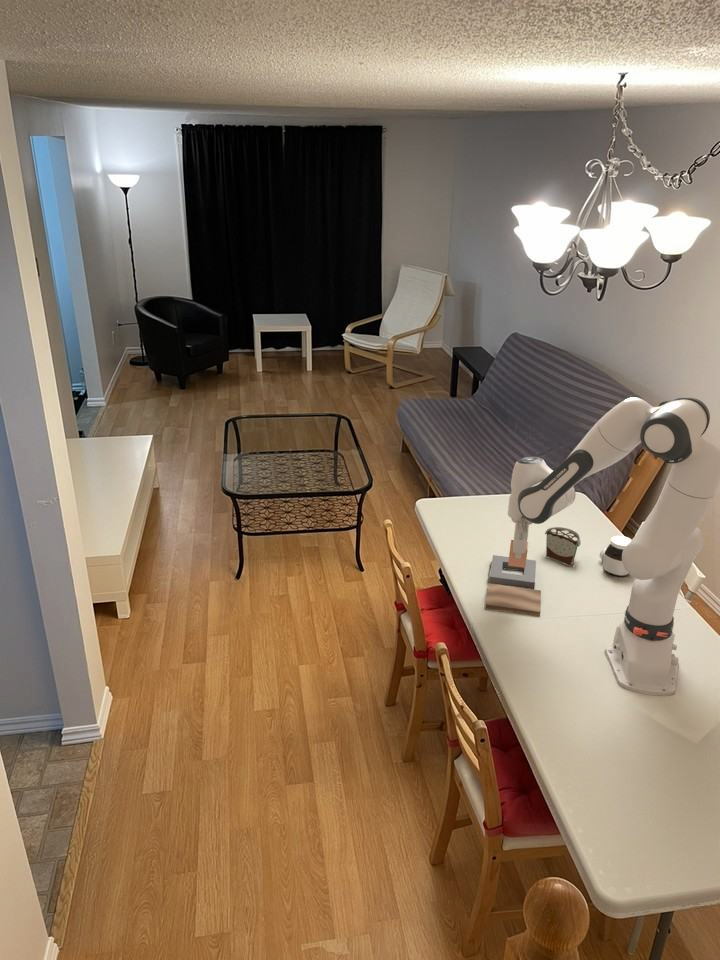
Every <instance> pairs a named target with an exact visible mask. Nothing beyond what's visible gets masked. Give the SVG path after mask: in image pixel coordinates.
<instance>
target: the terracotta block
mask: <svg viewBox="0 0 720 960" xmlns="http://www.w3.org/2000/svg"><path fill="white" fill-rule="evenodd" d="M513 542H514V539H510V544H509V545H510V546H509V554H508V557H509V562H508V566H515V567H522V568H525V567H526V559H527V558H528V551H529V549H528V548H529V541H527V547H526V552H525V554H522V556H521V558H520V559H518V558H515V553H514V552H513Z"/></svg>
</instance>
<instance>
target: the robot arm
mask: <svg viewBox="0 0 720 960" xmlns="http://www.w3.org/2000/svg"><path fill="white" fill-rule="evenodd" d="M710 421H711V413H710V411H709V408H708V406H707V405H706V404H705V403H704V402H703V401H702V400H700V399H698V398H696V397H695V398H694V397H689V396H688V397H680V398H675V399H669V400H665V401H662V402H660V403H659V404H658V406H652V405H651V404H649V403H648V401H646V400H645V399H643V398H640V397H637V396H636V397H634V396H633V397H628V398H626V399H624V400H623V401H621V402H619V403H618V404H616V405H615V406H614V407H612V408H611V409H610V410H608V411H607V412H606V413H605V414H604V415H603V416H602V417H601V418H600V419H599V420H598V421H597V422H596V423H594V424H593V426H592V427H591V428H590V429H589V431H587V433H586V434H585V436H584V437H583V438H582V439H581V440H580V442H579V443H578V444H577V445H576V446H575V447H574V449H573V450H572V451H571V453H570V454H569V455H568V456H567V457H566V458H565V459H564V460H563V461H562V462H561V463H560V464H559V465H558V466H557V467H556V468H554V470H553V469H552V468H550V467H549V466H548V465H547V463H546V462H545V460H544V459H543V458H541V457H538V456H531V455H530V456H525V457H522V458H520V459H517V461H516V462H515V463H514V466H513V470H512V474H511V482H510V489H511V492H510V495H509V499H508V506H507V507H508V508H507V516H508V517H509V518H510V519H511V521H512V522H513V523H514V525H515V526H514V533H513V540H514V542H513V552H514V553H515V558H518V559H520V558H521V556H522V554H525V552H526V547H527V542H528V537H529V526H530V525H532V524H535V525H539V524H544V523H545V522H547V521H548V520H549V519H550V518H551V517H553V516H555V515H557V514H558V513H560V512H561V511H563V510H565V509H566V508H568V507H570V506H571V505H572V504H573V503H574V502H575V500H576V499H575V498H576V488H575V486H576V484H578V483H580V481H582V480H584V479H585V478H588V477H589V476H592V475H593V474H595V473H598V472H600V471H602V470H604V469H606V468H608V467H611V466H613V465H614V464H616V463H618V462H619V461H621V460H622V459H624V458H625V457H626V456H628V455H629V454H630V453H631V452H632V451H634V449H635V448H636V447H637V446H639V445H640V444H642V446H643V447H644V449H645V450H646V451H647V452H648V453H650V454H652V455H653V456H654V457H657V458H659V459H661V460H662V461H663V462H665V463H666V464H670V465H671V464H672V465H671V468H670V471H669V473H668V476H667V478H666V480H665V482H664V485H663V487H662V490H661V492H660V494H659V497H658V499H657V502H655V505H654V507H653V508H652V510H651V511H650V513H649V514H648V516H647V517H646V518H645V520H644V522H643V523H642V524H641V526H640V528H639V530H638V531H637V532H636V534H635V536H634V537H633V538H632V539H631V540H632V541H631V542H630V543H629V544H628V545H627V546H626V547H625V548H624V550H623V552H622V563H623V565H624V568H625V569H626V571H627V572H628V573H629V574H628V575H630V576H631V577H633V578H635V579H634V581H633V582H632V586H631V591H630V597H629V601H628V602H629V603H628V605H627V606H626V609H625V611H624V619H623V621H622V622H621V623H620V624H618V625H617V626H616V629H615V632H614V637H613V640H612V641H613V642H612V645H608V646H606V647H605V649H604V653H605V656H606V658H607V661H608V663H609V665H610V668H611V670H612V672H613V674H614V677H615V680H616V682H617V683H618V685H619V686H620V687H622V688H625V689H627V690H630V691H633V692H636V693H641V694H646V695H652V696H670V695H674V694H676V689H677V678H678V670H679V669H678V668H679V657H678V656H676V654H675V653H673V650H674V651H677V647H678V645H677V644H674V642H675V641H674V640H675V637H676V634H675V632H673V629H674V624H675V623H674V620H675V618H674V614H675V613H674V612H675V609H676V604H677V601H678V597H679V594H680V591H681V588H682V587H683V584H684V582H685V580H686V578H687V576H688V574H689V571H690V569H691V567H692V565H693V563H694V561H695V559H696V557H697V556H698V554H699V553H700V552H701V550H702V549H703V547H704V545H705V544H704V542H705V539H704V535H703V533H702V530H701V529H700V528H699V526H700V525H701V523H703V520H704V519H705V516H706V514H707V512H708V509H709V508H710V506H711V503H712V501H713V499H714V496H715V495H716V491H717V489H718V487H719V485H720V448H718V447H717V445H714V444H712V443H710V442H707V441H706V440H705V438H704V437H703V435H704V434H705V433H706V431H707V430H708V428H709V425H710Z"/></svg>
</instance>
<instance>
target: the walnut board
mask: <svg viewBox="0 0 720 960" xmlns="http://www.w3.org/2000/svg"><path fill="white" fill-rule="evenodd" d="M486 592H487V593H486V600H485V606H484V608H485V609H487V610H494V611H501V612H507V613H515V614H522V615H529V616H535V617H541V609H542V608H541V607H542V606H541V604H542V590H541V589H535V588H534V589H527V588H520V587H512V586H505V585H498V584H490V583H489V582H488V586H487V591H486Z"/></svg>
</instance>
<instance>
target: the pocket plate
mask: <svg viewBox="0 0 720 960" xmlns="http://www.w3.org/2000/svg"><path fill="white" fill-rule="evenodd" d="M508 562H509V556H502V555H496V554H493V555H492V559H491V565H490V567H491V568H490V572H489V581H488V584H489V583H490V584H497V585H504V586H512V587H519V588H527V589H534V590H535V586H536V572H537V571H536V569H537V568H536V567H537V560H536V559H534V560H533V559H526V567H525V568H522V567H515V566H508ZM504 568H505V569H506V570H512V571H519V572H520V571H521V572H523V574H517V573H510V572H509V573H508V572H503V569H504Z"/></svg>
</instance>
